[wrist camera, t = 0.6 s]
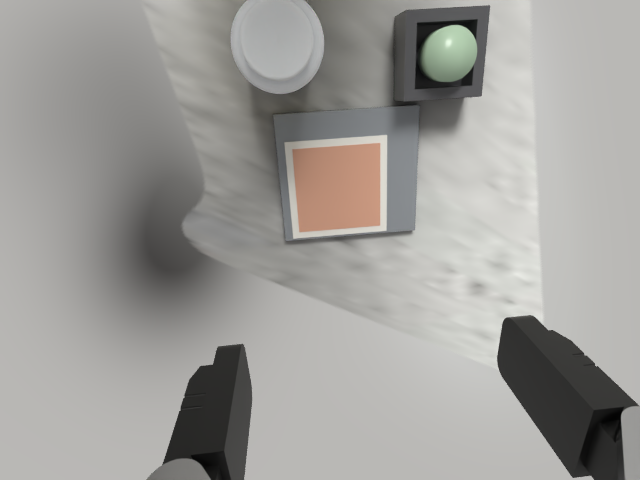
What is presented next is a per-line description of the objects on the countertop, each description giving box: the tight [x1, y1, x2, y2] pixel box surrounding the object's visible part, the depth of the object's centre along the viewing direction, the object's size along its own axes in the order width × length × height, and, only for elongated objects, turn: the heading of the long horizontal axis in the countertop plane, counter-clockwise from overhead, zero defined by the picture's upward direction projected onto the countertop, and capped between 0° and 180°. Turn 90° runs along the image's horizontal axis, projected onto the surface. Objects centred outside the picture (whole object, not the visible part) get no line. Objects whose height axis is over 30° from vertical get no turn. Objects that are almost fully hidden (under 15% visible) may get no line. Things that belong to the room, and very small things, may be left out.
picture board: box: [273, 105, 420, 241], centre depth 34 cm, size 11×12×1 cm
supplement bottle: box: [231, 0, 324, 94], centre depth 25 cm, size 6×6×10 cm
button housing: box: [394, 5, 490, 102], centre depth 30 cm, size 6×6×3 cm
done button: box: [418, 25, 477, 82], centre depth 28 cm, size 4×4×2 cm
